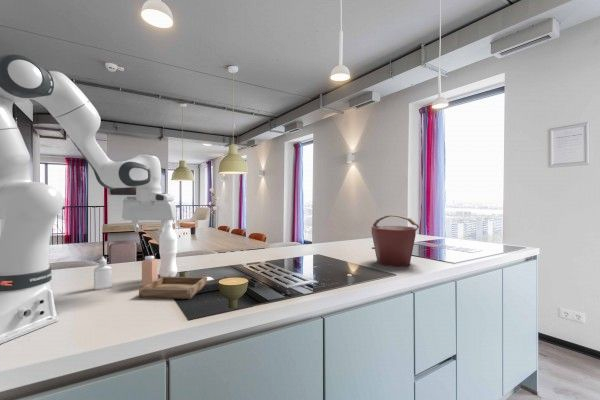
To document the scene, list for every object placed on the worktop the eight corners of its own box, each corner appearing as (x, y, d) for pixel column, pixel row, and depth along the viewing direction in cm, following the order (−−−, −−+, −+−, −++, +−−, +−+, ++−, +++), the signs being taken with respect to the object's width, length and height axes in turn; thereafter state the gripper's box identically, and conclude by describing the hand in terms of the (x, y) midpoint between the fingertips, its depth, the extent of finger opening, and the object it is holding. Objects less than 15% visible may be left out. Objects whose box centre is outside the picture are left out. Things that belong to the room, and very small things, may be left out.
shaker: (152, 287, 115) (151, 257, 115) (141, 287, 115) (141, 257, 115) (157, 284, 119) (157, 255, 119) (147, 283, 119) (147, 255, 119)
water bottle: (180, 275, 131) (180, 218, 131) (172, 280, 124) (171, 220, 124) (165, 275, 132) (164, 218, 131) (155, 279, 125) (155, 220, 124)
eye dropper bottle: (108, 289, 112) (108, 257, 112) (91, 290, 111) (91, 258, 111) (113, 286, 116) (113, 255, 116) (97, 286, 115) (97, 255, 115)
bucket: (427, 265, 151) (428, 216, 151) (397, 270, 140) (397, 217, 140) (390, 256, 172) (390, 213, 172) (361, 260, 161) (361, 214, 161)
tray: (190, 298, 102) (190, 290, 102) (138, 297, 103) (138, 289, 103) (206, 284, 118) (206, 277, 118) (162, 284, 119) (162, 276, 119)
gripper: (118, 196, 114) (118, 232, 114) (170, 196, 113) (171, 232, 113) (128, 196, 120) (128, 230, 120) (178, 196, 119) (178, 230, 119)
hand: (149, 231), depth 117 cm, fingers open, 8 cm apart
